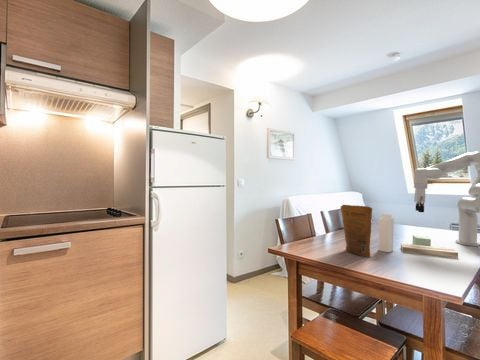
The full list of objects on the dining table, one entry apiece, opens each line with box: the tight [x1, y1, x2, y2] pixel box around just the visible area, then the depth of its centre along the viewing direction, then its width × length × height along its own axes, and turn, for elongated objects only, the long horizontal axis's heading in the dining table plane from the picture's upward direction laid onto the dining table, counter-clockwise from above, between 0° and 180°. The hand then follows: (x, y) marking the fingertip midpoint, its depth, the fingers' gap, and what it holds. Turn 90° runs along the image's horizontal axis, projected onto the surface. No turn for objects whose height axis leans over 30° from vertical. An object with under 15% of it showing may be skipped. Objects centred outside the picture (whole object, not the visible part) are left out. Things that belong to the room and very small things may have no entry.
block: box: [412, 234, 432, 246], centre depth 171 cm, size 10×8×6 cm
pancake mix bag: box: [340, 204, 373, 258], centre depth 151 cm, size 7×19×28 cm, turn 28°
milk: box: [378, 213, 395, 253], centre depth 158 cm, size 6×6×22 cm
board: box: [400, 242, 459, 259], centre depth 155 cm, size 10×26×3 cm, turn 65°
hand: (419, 211), depth 180 cm, fingers open, 9 cm apart
